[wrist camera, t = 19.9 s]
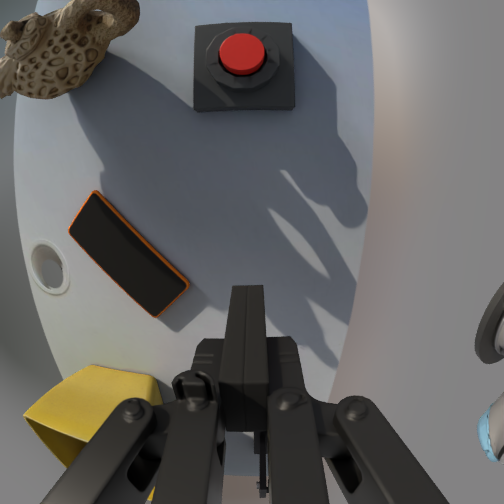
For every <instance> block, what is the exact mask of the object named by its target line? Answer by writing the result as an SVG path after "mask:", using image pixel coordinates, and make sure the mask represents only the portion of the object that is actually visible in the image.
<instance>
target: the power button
mask: <svg viewBox="0 0 504 504" xmlns="http://www.w3.org/2000/svg"><path fill="white" fill-rule="evenodd" d="M264 52H265V51H264V46H263V44H262V42H261V41H260V40H259V39H258V38H256V37H255V36H253V35H250V34H235V35H233V36H230V37H229V38H227V39H226V40H225V41H224V42H223V43H222V45H221V47H220V58H221V60H222V63H223V65H224V67H225V68H226V69H227V70H228V71H229V72H231V73H233V74H237V75H248V74H251V73H253V72H255V71H257V70H258V69H259V68H260V67H261V65H262V64H263V61H264Z"/></svg>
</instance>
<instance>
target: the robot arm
mask: <svg viewBox="0 0 504 504" xmlns="http://www.w3.org/2000/svg"><path fill="white" fill-rule="evenodd" d="M492 345H493V348H494V349H495V350H496V351H497V352H498V353H499V354H501V355H503V356H504V311H503V312H502V314H501V316H500V318H499V320H498V322H497V324H496V327H495V329H494V333H493V337H492ZM172 387H173V390H174V393H175V396H176V399H177V400H175V401H173V402H170V403H167V404H161V405H154V406H151V404H150V403H149V402H148V401H147V400H145V399H143V398H138V397H134V398H128V399H126V400H123V401H122V402H120V403H119V404H118V405H117V406H116V407H115V409H114V410H113V411H112V412H111V414H110V415H109V416H108V418H107V419H106V420H105V421H104V423H103V424H102V425H101V426H100V428H99V429H98V430H97V431H96V433H95V434H94V435H93V436H92V438H91V439H90V440H89V441H88V443H87V444H86V445H85V447H84V448H83V449H82V450H81V452H80V453H79V454H78V455H77V457H76V458H75V459H74V461H73V462H72V463H71V464H70V466H69V467H68V468H67V470H66V471H65V472H64V473H63V475H62V476H61V477H60V479H59V480H58V481H57V482H56V484H55V485H54V486H53V488H52V489H51V490H50V491H49V493H48V494H47V495H46V497H45V498H44V499H43V501H42V502H41V503H40V504H145V502H146V500H147V499H148V497H149V495H150V494H151V492H152V490H153V488H154V486H155V489H154V493H153V497H152V502H151V504H221V501H222V488H223V476H224V463H225V450H226V441H225V427H226V431H229V432H262V431H268V450H267V454H268V473H269V504H329V499H328V492H327V485H326V479H325V473H324V468H323V462H322V457H324V458H325V460H326V462H327V464H328V466H329V468H330V470H331V472H332V474H333V476H334V477H335V479H336V481H337V483H338V485H339V487H340V489H341V490H342V493H343V495H344V496H345V498H346V500H347V502H348V504H449V502H448V501H447V500H446V498H445V497H444V495H443V494H442V493H441V491H440V490H439V489H438V487H437V486H436V485H435V483H434V482H433V481H432V480H431V478H430V477H429V475H428V474H427V473H426V471H425V470H424V469H423V467H422V466H421V465H420V463H419V462H418V461H417V459H416V458H415V457H414V455H413V454H412V453H411V451H410V450H409V449H408V448H407V446H406V445H405V443H404V442H403V441H402V439H401V438H400V437H399V435H398V434H397V433H396V432H395V430H394V429H393V428H392V426H391V425H390V423H389V422H388V421H387V420H386V418H385V417H384V416H383V414H382V413H381V412H380V410H379V409H378V408H377V407H376V405H375V404H374V403H373V402H372V401H371V400H370V399H368V398H365V397H363V396H349V397H346V398H344V399H342V400H341V401H340V402H339V403H338V404H333V403H326V402H322V401H318V400H316V399H314V398H313V397H311V396H310V395H309V394H308V392H307V391H306V388H305V384H304V379H303V374H302V368H301V363H300V358H299V354H298V348H297V344H296V342H295V341H294V340H293V339H292V338H291V337H290V336H286V337H266V323H265V307H264V291H263V285H248V286H232V292H231V299H230V306H229V312H228V319H227V325H226V332H225V339H206V338H204V339H203V340H202V341H201V342H200V343H199V344H198V345H197V348H196V352H195V356H194V359H193V363H192V367H191V370H188V371H185V372H182V373H180V374H179V375H177V376H176V377H175V378H174V379H173V381H172ZM477 432H478V437H479V441H480V444H481V446H482V449H483V451H485V453H486V456H487V457H488V459H489V460H490V461H492V462H497V461H500V463H501V464H502V465H504V392H503V394H502V395H501V396H500V397H499V398H498V399H497V400H496V401H495V402H494V403H492V404H491V405H490V407H489V409H488V410H487V411H486V412H485V413H484V414H483V415H482V416H481V417H480V419H479V422H478V425H477Z"/></svg>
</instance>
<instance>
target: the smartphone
mask: <svg viewBox="0 0 504 504" xmlns="http://www.w3.org/2000/svg"><path fill="white" fill-rule="evenodd" d="M68 233H69V234H70V236H71V237H72V238H73V239H74V240H75V241H76V242H77V243H78V245H79V246H80V247H81V248H82V249H83V250H84V251H85V252H86V253H87V254H88V255H89V256H90V257H91V258H92V259H93V261H94V262H95V263H96V264H97V265H98V266H99V267H100V268H101V269H102V270H103V271H104V272H105V273H106V274H107V275H108V276H109V277H110V278H111V279H112V280H113V281H114V282H115V283H116V284H117V285H118V286H119V287H120V288H122V289H123V290H124V291H125V292H126V293H127V294H128V295H129V296H130V297H131V298H132V299H133V300H134V301H135V302H136V303H137V304H139V305H140V306H141V307H142V308H143V309H144V310H145V311H146V312H148V313H149V314H150V315H151V316H152V317H154V318H157V317H159V316H160V315H161V314H162V313H163V312H164V311H165V310H166V309H167V308H168V307H169V306H170V305H171V304H172V303H173V302H174V301H175V300H176V299H177V298H178V297H180V296H181V295H182V294H183V293H184V291H186V290H187V289H188V288H189V286H190V284H189V281H188V280H187V279H186V278H185V277H184V276H182V275H181V274H180V273H179V272H178V271H177V270H176V269H175V268H174V267H173V266H172V265H171V264H170V263H169V262H168V261H167V260H166V259H164V258H163V257H162V256H161V255H160V254H159V253H158V252H157V251H156V250H155V249H154V248H153V247H152V246H151V245H150V244H149V243H148V242H147V241H146V240H145V239H144V238H143V237H142V236H141V235H140V234H139V233H138V232H137V231H136V230H135V229H134V228H133V227H132V226H131V225H130V224H129V223H128V222H127V221H126V220H125V219H124V218H123V217H122V216H121V215H120V214H119V213H118V212H117V211H116V210H115V209H114V207H113V206H112V205H111V204H110V203H109V202H108V201H107V200H106V199H105V198H104V197H103V196H102V195H101V194H100V193H99V192H98V191H97V190H94V191H92V192H91V194H90V195H89V197H88V198H87V200H86V201H85V203H84V204H83V206H82V207H81V209H80V211H79V212H78V214H77V215H76V217H75V219H74V220H73V222H72V223H71V225H70V227H69V229H68Z"/></svg>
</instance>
